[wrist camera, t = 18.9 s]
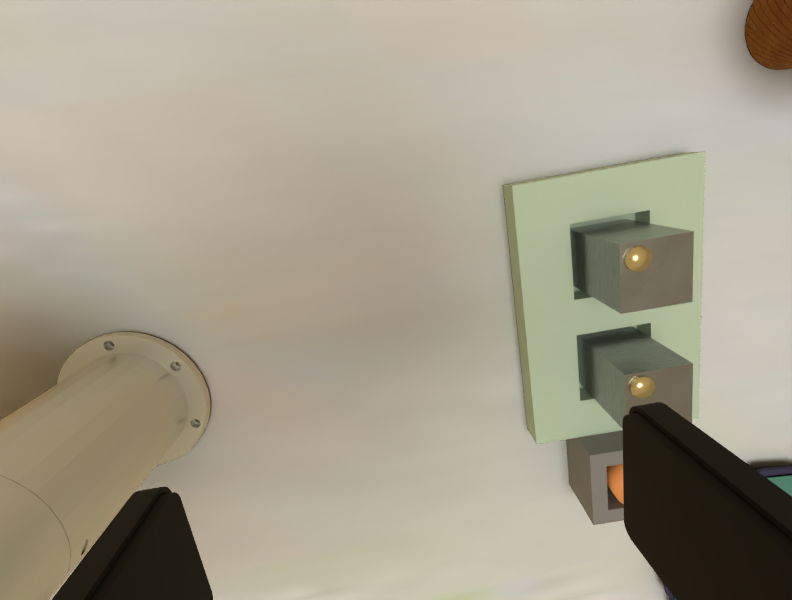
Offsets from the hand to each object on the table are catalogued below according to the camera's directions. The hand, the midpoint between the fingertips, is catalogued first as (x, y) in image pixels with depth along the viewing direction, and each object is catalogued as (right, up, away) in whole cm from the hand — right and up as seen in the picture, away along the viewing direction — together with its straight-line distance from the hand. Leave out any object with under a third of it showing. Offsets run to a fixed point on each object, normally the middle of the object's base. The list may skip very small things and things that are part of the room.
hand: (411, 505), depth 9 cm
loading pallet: (+17, +1, +29) cm, 34 cm away
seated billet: (+18, 0, +28) cm, 33 cm away
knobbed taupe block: (+16, +8, +26) cm, 32 cm away
